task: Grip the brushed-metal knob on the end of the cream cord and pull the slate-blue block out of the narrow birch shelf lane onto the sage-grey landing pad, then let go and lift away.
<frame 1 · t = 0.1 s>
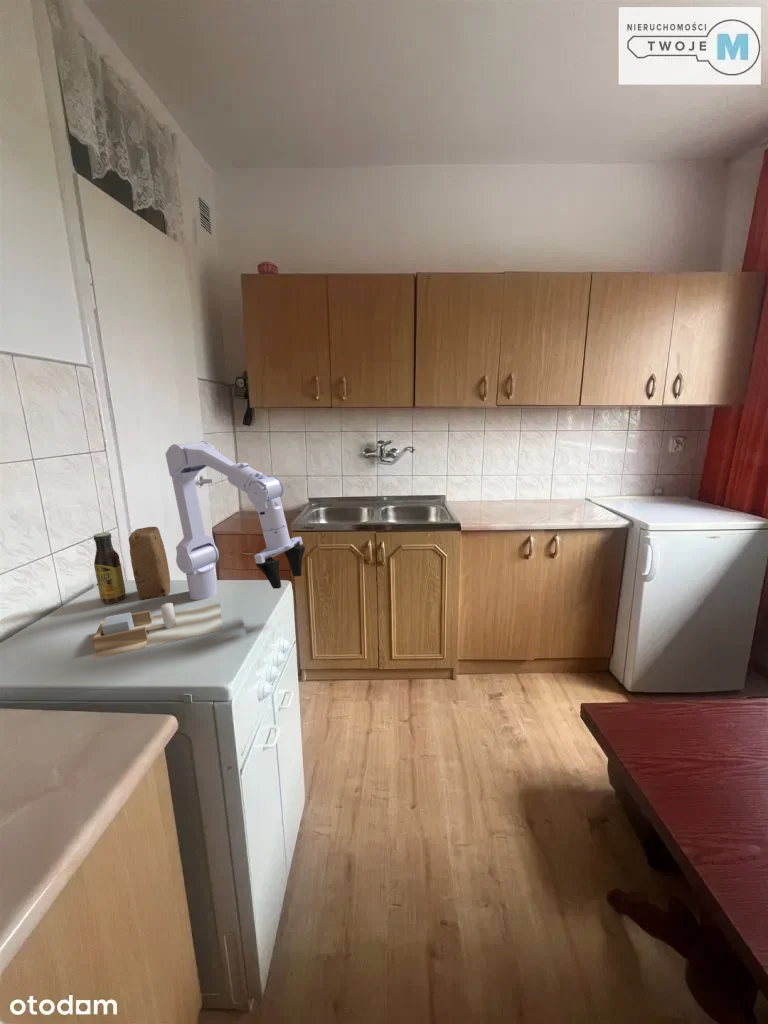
hand: (287, 581, 102), 11 cm above the countertop, tool pointing down, fingers open, 7 cm apart
sauce bottle: (115, 600, 121), on the countertop
block: (157, 595, 124), on the countertop
shelf lane: (164, 633, 102), on the countertop
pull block: (120, 636, 98), point 1 cm above the countertop, touching shelf lane
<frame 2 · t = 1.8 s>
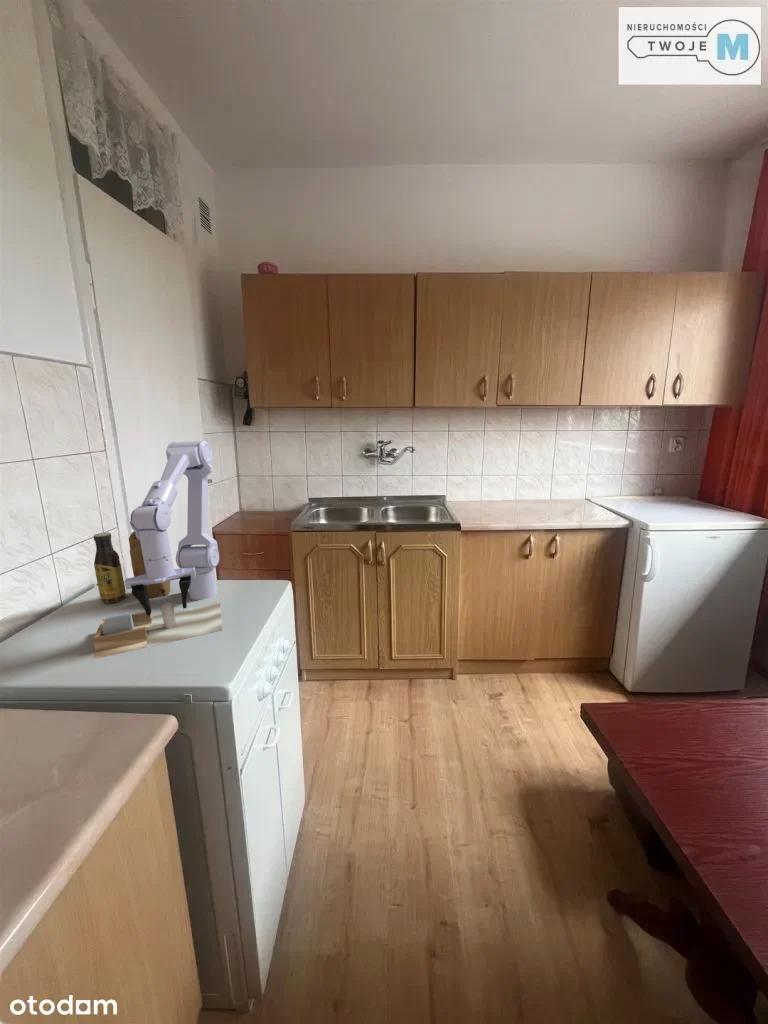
hand: (167, 610, 101), 6 cm above the countertop, tool pointing down, fingers open, 7 cm apart
nothing on the countertop moved.
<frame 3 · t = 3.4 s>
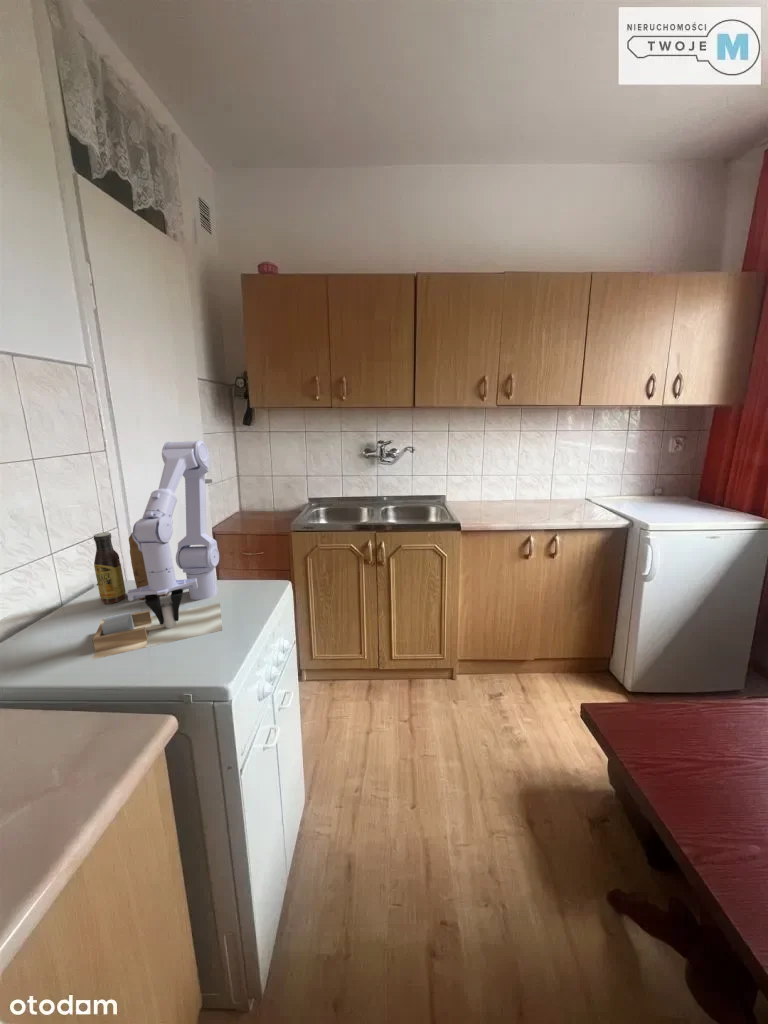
hand: (169, 620, 101), 3 cm above the countertop, tool pointing down, fingers closed on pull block, 3 cm apart
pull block: (120, 636, 98), point 1 cm above the countertop, touching gripper, shelf lane
everything else where it was.
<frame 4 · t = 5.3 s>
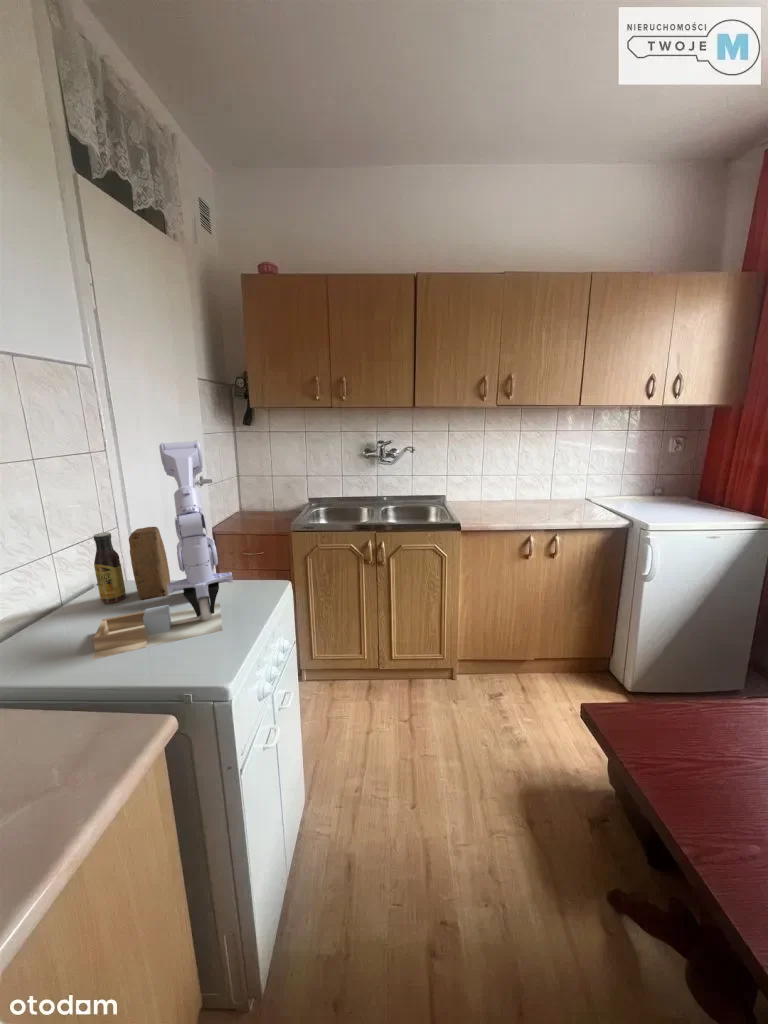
hand: (205, 613, 104), 3 cm above the countertop, tool pointing down, fingers closed on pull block, 3 cm apart
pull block: (159, 628, 101), point 1 cm above the countertop, touching gripper, shelf lane
everything else where it was.
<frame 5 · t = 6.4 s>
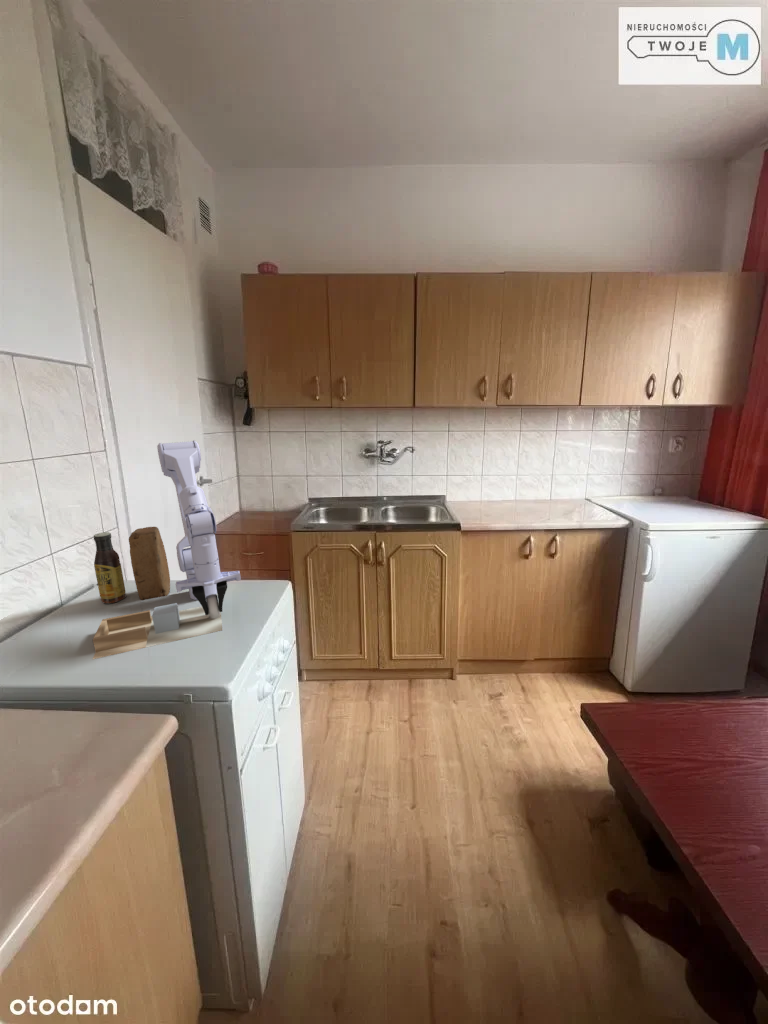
hand: (213, 611, 105), 3 cm above the countertop, tool pointing down, fingers closed on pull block, 3 cm apart
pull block: (168, 626, 102), point 1 cm above the countertop, touching gripper, shelf lane
everything else where it was.
when the fingers open (3 cm above the countertop, at t = 6.9 s): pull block stays where it is, resting on shelf lane.
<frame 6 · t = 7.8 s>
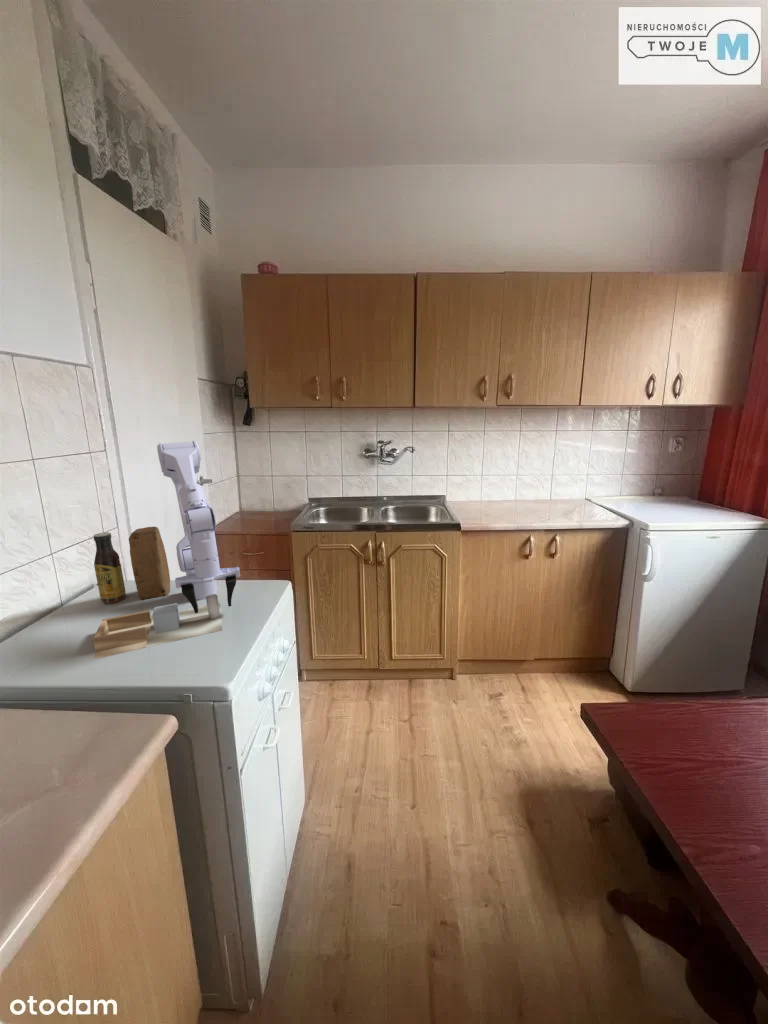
hand: (213, 608, 105), 4 cm above the countertop, tool pointing down, fingers open, 7 cm apart
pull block: (168, 626, 102), point 1 cm above the countertop, touching shelf lane
everything else where it was.
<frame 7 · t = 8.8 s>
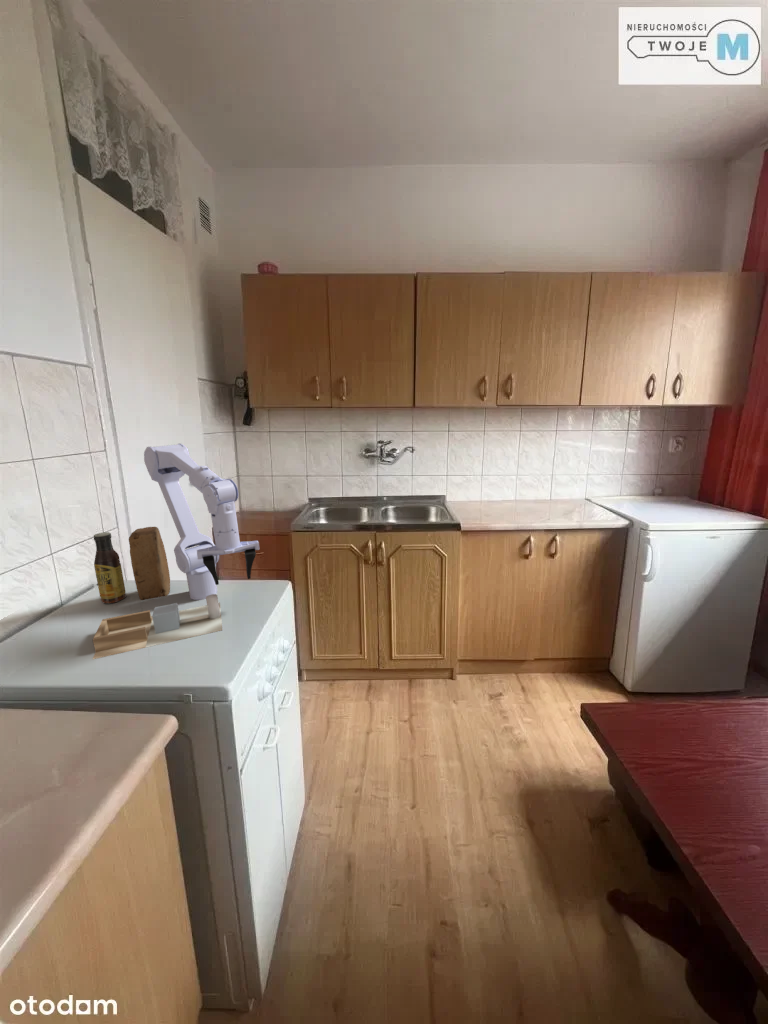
hand: (233, 580, 107), 9 cm above the countertop, tool pointing down, fingers open, 7 cm apart
nothing on the countertop moved.
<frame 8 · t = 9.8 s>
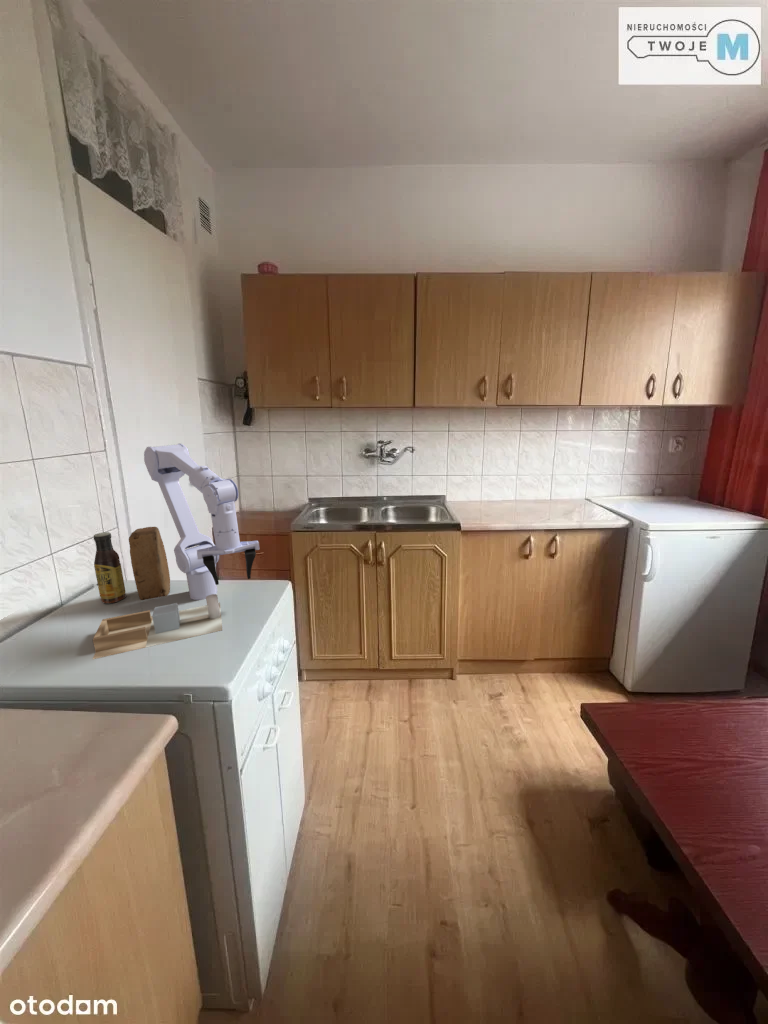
hand: (233, 580, 107), 9 cm above the countertop, tool pointing down, fingers open, 7 cm apart
nothing on the countertop moved.
at the end: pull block inside the target area (1.8 cm from its centre), point 1.5 cm above the countertop; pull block tilted 0°; the gripper is holding nothing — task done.
